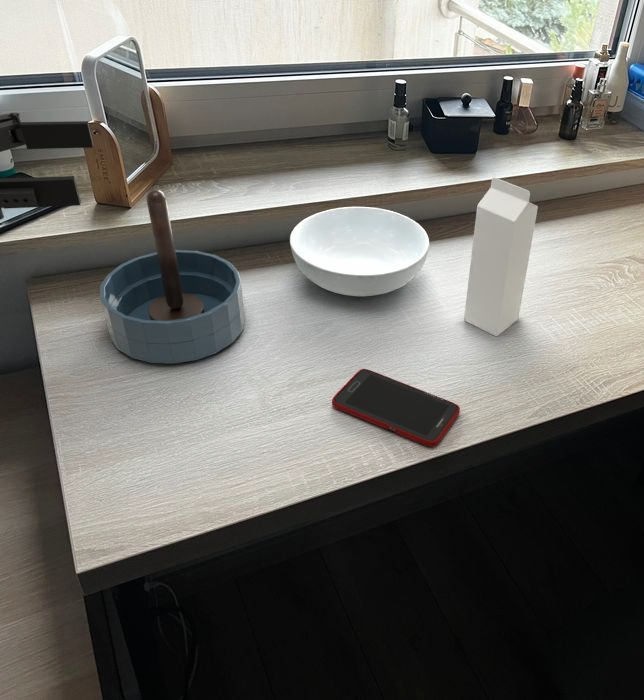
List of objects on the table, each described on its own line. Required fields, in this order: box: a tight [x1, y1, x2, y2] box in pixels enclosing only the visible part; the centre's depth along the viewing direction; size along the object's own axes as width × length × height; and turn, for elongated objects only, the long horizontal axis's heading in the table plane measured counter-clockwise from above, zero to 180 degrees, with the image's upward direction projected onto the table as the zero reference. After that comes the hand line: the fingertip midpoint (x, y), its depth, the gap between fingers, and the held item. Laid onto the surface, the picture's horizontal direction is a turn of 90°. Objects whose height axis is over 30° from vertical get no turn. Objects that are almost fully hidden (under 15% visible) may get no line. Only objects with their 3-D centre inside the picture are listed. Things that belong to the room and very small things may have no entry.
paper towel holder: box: [145, 189, 205, 321], centre depth 93 cm, size 7×7×20 cm
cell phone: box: [331, 368, 461, 448], centre depth 90 cm, size 8×15×1 cm, turn 65°
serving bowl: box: [289, 206, 430, 297], centre depth 111 cm, size 21×21×7 cm
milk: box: [463, 176, 539, 337], centre depth 101 cm, size 6×6×22 cm
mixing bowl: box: [99, 249, 246, 364], centre depth 97 cm, size 17×17×7 cm
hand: (85, 160), depth 74 cm, fingers open, 13 cm apart
